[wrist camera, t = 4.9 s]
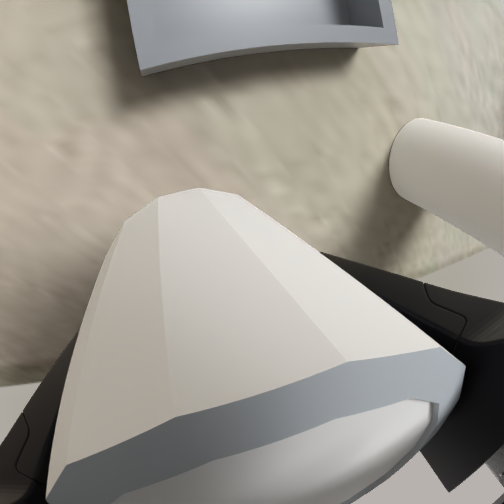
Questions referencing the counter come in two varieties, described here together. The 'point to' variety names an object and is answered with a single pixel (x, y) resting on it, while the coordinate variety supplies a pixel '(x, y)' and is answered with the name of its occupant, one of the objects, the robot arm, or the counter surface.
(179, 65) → the tray
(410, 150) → the cylindrical container
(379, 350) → the short white cylinder
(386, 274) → the robot arm
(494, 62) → the counter surface
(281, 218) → the counter surface
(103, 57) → the counter surface
